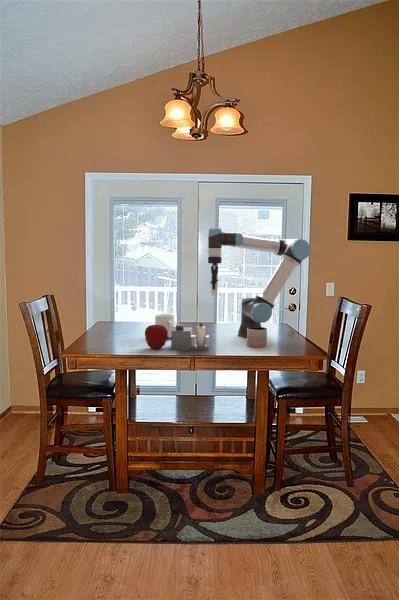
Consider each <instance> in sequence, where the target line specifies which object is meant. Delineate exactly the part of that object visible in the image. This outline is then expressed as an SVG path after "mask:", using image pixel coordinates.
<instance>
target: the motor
mask: <svg viewBox="0 0 399 600" xmlns="http://www.w3.org/2000/svg"><path fill="white" fill-rule="evenodd" d="M166 341H170V350H171V351H191V350H192V351H193V350H197V351H198V350H199V351H201V350H202V351H204V350H205V351H209V349H210V348H209V347H210V335H209V334H208V335H205V346H197V334H193V326H190V327H187V326H185V325H184V324H176V325H175V326H174V327H173V329H172V330H171V336H167V340H166Z"/></svg>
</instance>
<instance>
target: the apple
mask: <svg viewBox="0 0 399 600" xmlns="http://www.w3.org/2000/svg"><path fill="white" fill-rule="evenodd" d="M144 330H145V331H144V336H145V337H144V338H145V341H146V344H147V346H148V347H149V348H150V349H152V350H158V349H159V350H160V349H162V348H163V347H164V346H165V345H166V342H167V341H168V340H167V335H168V331H167V329H166V328H165V327H164V326H163V325H155V324H151V325H148V326H147V327H145V329H144Z"/></svg>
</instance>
